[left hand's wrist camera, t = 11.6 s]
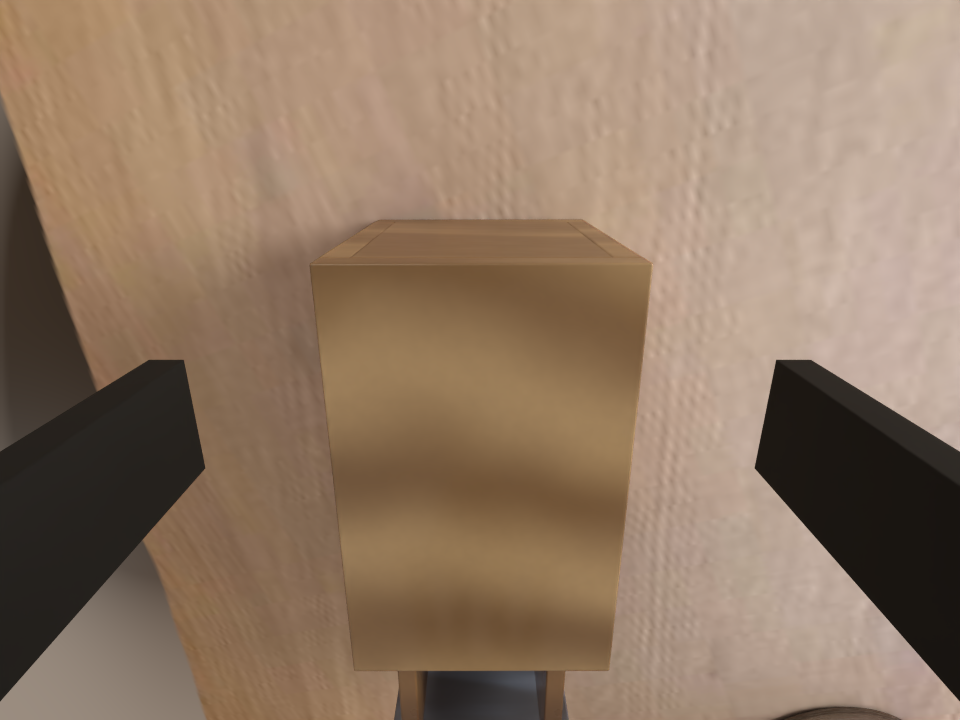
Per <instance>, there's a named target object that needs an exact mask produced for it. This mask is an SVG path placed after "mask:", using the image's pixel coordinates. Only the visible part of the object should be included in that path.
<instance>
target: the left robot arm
mask: <svg viewBox="0 0 960 720" xmlns="http://www.w3.org/2000/svg"><path fill="white" fill-rule="evenodd" d="M204 469H205V464H204V459H203V454H202V449H201V444H200V439H199V434H198V429H197V424H196V419H195V414H194V409H193V404H192V399H191V394H190V389H189V384H188V379H187V374H186V369H185V364H184V360H148V361H147V362H145V363H143V364H142V365H140V366H138V367H137V368H135V369H134V370H132V371H130V372H129V373H127V374H125V375H124V376H122V377H121V378H119V379H117V380H116V381H114V382H113V383H111V384H109V385H108V386H106V387H104V388H103V389H101V390H100V391H98V392H96V393H95V394H93V395H91V396H90V397H88V398H87V399H85V400H83V401H82V402H80V403H78V404H77V405H75V406H74V407H72V408H70V409H69V410H67V411H66V412H64V413H62V414H61V415H59V416H57V417H56V418H54V419H53V420H51V421H49V422H48V423H46V424H44V425H43V426H41V427H40V428H38V429H36V430H35V431H33V432H31V433H30V434H28V435H27V436H25V437H23V438H22V439H20V440H18V441H17V442H15V443H14V444H12V445H10V446H9V447H7V448H6V449H4V450H2V451H1V452H0V701H1V700H2V699H3V697H4V696H5V695H6V694H7V693H8V692H9V691H10V690H11V688H12V687H13V686H14V685H15V684H16V683H17V682H18V680H19V679H20V678H21V677H22V676H23V675H24V674H25V673H26V671H27V670H28V669H29V668H30V667H31V666H32V665H33V663H34V662H35V661H36V660H37V659H38V658H39V657H40V655H41V654H42V653H43V652H44V651H45V650H46V649H47V648H48V646H49V645H50V644H51V643H52V642H53V641H54V640H55V638H56V637H57V636H58V635H59V634H60V633H61V632H62V630H63V629H64V628H65V627H66V626H67V625H68V624H69V623H70V621H71V620H72V619H73V618H74V617H75V616H76V614H77V613H78V612H79V611H80V610H81V609H82V608H83V607H84V605H85V604H86V603H87V602H88V601H89V600H90V599H91V598H92V596H93V595H94V594H95V593H96V592H97V591H98V590H99V588H100V587H101V586H102V585H103V584H104V583H105V582H106V580H107V579H108V578H109V577H110V576H111V575H112V574H113V572H114V571H115V570H116V569H117V568H118V567H119V566H120V565H121V563H122V562H123V561H124V560H125V559H126V558H127V557H128V555H129V554H130V553H131V552H132V551H133V550H134V549H135V547H136V546H137V545H138V544H139V543H140V542H141V541H142V540H143V538H144V537H145V536H146V535H147V534H148V533H149V532H150V530H151V529H152V528H153V527H154V526H155V525H156V524H157V522H158V521H159V520H160V519H161V518H162V517H163V516H164V515H165V513H166V512H167V511H168V510H169V509H170V508H171V507H172V505H173V504H174V503H175V502H176V501H177V500H178V499H179V497H180V496H181V495H182V494H183V493H184V492H185V491H186V490H187V488H188V487H189V486H190V485H191V484H192V483H193V482H194V480H195V479H196V478H197V477H198V476H199V475H200V474H201V472H202V471H203V470H204ZM755 469H756V470H757V471H758V472H759V474H760V475H761V476H762V477H763V478H764V479H765V480H766V482H767V483H768V484H769V485H770V486H771V487H772V488H773V490H774V491H775V492H776V493H777V494H778V495H779V496H780V497H781V499H782V500H783V501H784V502H785V503H786V504H787V505H788V507H789V508H790V509H791V510H792V511H793V512H794V513H795V515H796V516H797V517H798V518H799V519H800V520H801V521H802V522H803V524H804V525H805V526H806V527H807V528H808V529H809V530H810V532H811V533H812V534H813V535H814V536H815V537H816V538H817V540H818V541H819V542H820V543H821V544H822V545H823V546H824V547H825V549H826V550H827V551H828V552H829V553H830V554H831V555H832V557H833V558H834V559H835V560H836V561H837V562H838V563H839V565H840V566H841V567H842V568H843V569H844V570H845V571H846V573H847V574H848V575H849V576H850V577H851V578H852V579H853V580H854V582H855V583H856V584H857V585H858V586H859V587H860V588H861V590H862V591H863V592H864V593H865V594H866V595H867V596H868V598H869V599H870V600H871V601H872V602H873V603H874V604H875V605H876V607H877V608H878V609H879V610H880V611H881V612H882V613H883V615H884V616H885V617H886V618H887V619H888V620H889V621H890V623H891V624H892V625H893V626H894V627H895V628H896V629H897V630H898V632H899V633H900V634H901V635H902V636H903V637H904V638H905V640H906V641H907V642H908V643H909V644H910V645H911V646H912V648H913V649H914V650H915V651H916V652H917V653H918V654H919V655H920V657H921V658H922V659H923V660H924V661H925V662H926V663H927V665H928V666H929V667H930V668H931V669H932V670H933V671H934V673H935V674H936V675H937V676H938V677H939V678H940V679H941V681H942V682H943V683H944V684H945V685H946V686H947V687H948V688H949V690H950V691H951V692H952V693H953V694H954V695H955V696H956V698H957V699H958V700H959V701H960V452H959V451H958V450H956V449H954V448H953V447H951V446H950V445H948V444H946V443H945V442H943V441H942V440H940V439H938V438H937V437H935V436H933V435H932V434H930V433H929V432H927V431H925V430H924V429H922V428H920V427H919V426H917V425H916V424H914V423H912V422H911V421H909V420H907V419H906V418H904V417H903V416H901V415H899V414H898V413H896V412H895V411H893V410H891V409H890V408H888V407H886V406H885V405H883V404H882V403H880V402H878V401H877V400H875V399H873V398H872V397H870V396H869V395H867V394H865V393H864V392H862V391H860V390H859V389H857V388H856V387H854V386H852V385H851V384H849V383H847V382H846V381H844V380H843V379H841V378H839V377H838V376H836V375H835V374H833V373H831V372H830V371H828V370H826V369H825V368H823V367H822V366H820V365H818V364H817V363H815V362H813V361H812V360H776V364H775V369H774V374H773V379H772V384H771V389H770V394H769V399H768V404H767V409H766V414H765V419H764V424H763V429H762V434H761V439H760V444H759V449H758V454H757V459H756V464H755Z"/></svg>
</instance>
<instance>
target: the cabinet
mask: <svg viewBox="0 0 960 720" xmlns="http://www.w3.org/2000/svg"><path fill="white" fill-rule="evenodd" d="M652 270H653V263H651V262H650V261H648V260H647V259H645V258H643V257H641V256H640V255H638V254H637V253H635V252H633V251H632V250H630V249H629V248H627V247H625V246H624V245H622V244H621V243H619V242H617V241H616V240H614V239H613V238H611V237H610V236H608V235H606V234H605V233H603V232H602V231H600V230H598V229H597V228H595V227H594V226H592V225H590V224H589V223H587V222H586V221H584V220H378V221H376V222H374V223H373V224H371V225H369V226H368V227H366V228H365V229H363V230H362V231H360V232H359V233H357V234H355V235H354V236H352V237H351V238H349V239H348V240H346V241H344V242H343V243H341V244H340V245H338V246H337V247H335V248H334V249H332V250H330V251H329V252H327V253H326V254H324V255H323V256H321V257H319V258H318V259H317V260H315V261H314V262H312V263H310V273H311V282H312V292H313V301H314V310H315V319H316V328H317V337H318V346H319V355H320V364H321V373H322V383H323V392H324V401H325V410H326V419H327V428H328V437H329V446H330V455H331V464H332V474H333V483H334V492H335V501H336V510H337V519H338V528H339V537H340V546H341V555H342V565H343V574H344V583H345V592H346V601H347V610H348V619H349V628H350V637H351V646H352V655H353V665H354V670H355V671H608V670H609V666H610V656H611V647H612V638H613V629H614V620H615V610H616V601H617V592H618V583H619V574H620V564H621V555H622V546H623V537H624V528H625V519H626V509H627V500H628V491H629V482H630V473H631V463H632V454H633V445H634V436H635V427H636V417H637V408H638V399H639V390H640V381H641V371H642V362H643V353H644V344H645V335H646V325H647V316H648V307H649V298H650V289H651V280H652Z"/></svg>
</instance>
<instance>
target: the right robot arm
mask: <svg viewBox="0 0 960 720" xmlns="http://www.w3.org/2000/svg"><path fill="white" fill-rule="evenodd" d="M784 720H901V719H899V718H897V717H895V716H892V715H890V714H887V713H884V712H880V711H876V710H872V709H865V708H854V707H838V708H827V709H820V710H814V711H810V712H806V713H802V714H798V715H795V716H792V717H789V718H787V719H784Z"/></svg>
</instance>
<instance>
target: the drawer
mask: <svg viewBox="0 0 960 720" xmlns="http://www.w3.org/2000/svg"><path fill="white" fill-rule="evenodd" d="M398 679H399V691H398V697H397V704H396V710H395V717H394V720H569V718H568V712H567V705H566V699H565V692H564V680H565V671H398Z"/></svg>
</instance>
